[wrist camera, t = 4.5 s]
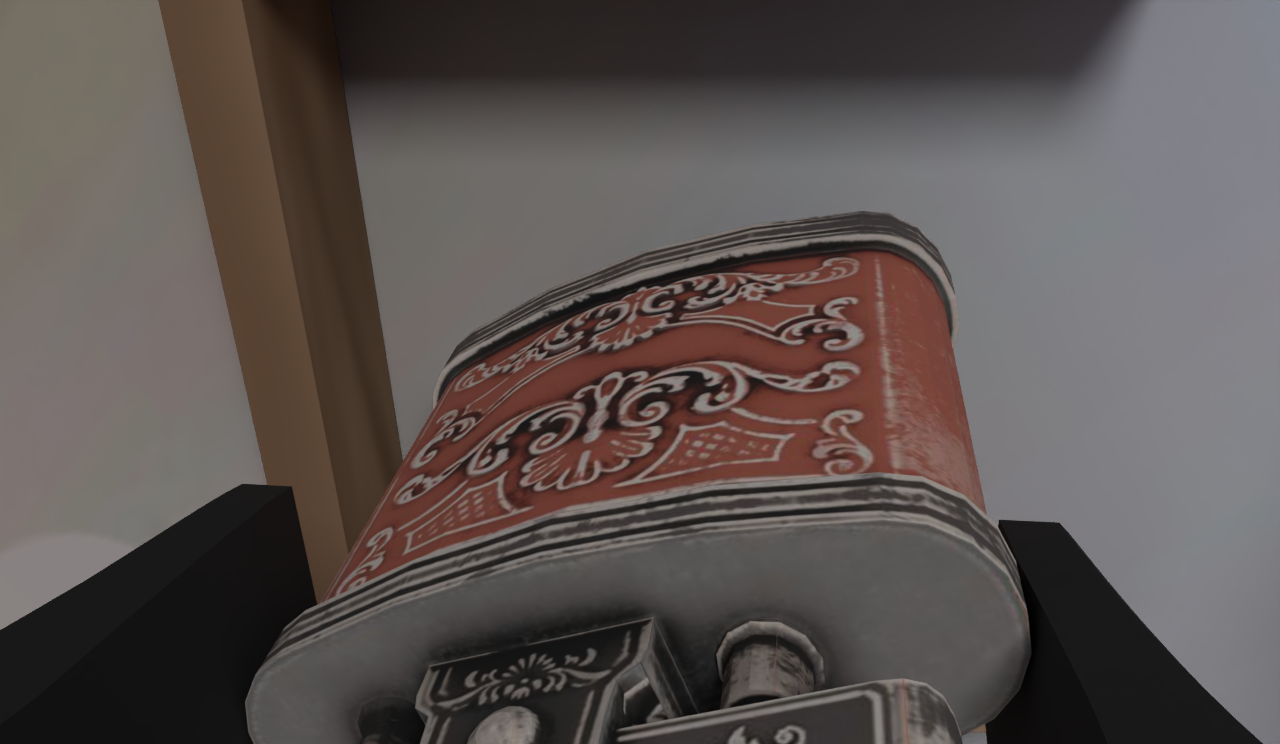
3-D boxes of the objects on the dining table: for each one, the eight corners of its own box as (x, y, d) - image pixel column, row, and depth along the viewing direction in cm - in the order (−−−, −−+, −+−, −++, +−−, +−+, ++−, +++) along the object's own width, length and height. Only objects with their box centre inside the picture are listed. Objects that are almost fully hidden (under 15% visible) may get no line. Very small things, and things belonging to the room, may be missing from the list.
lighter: (499, 496, 20) (238, 1097, 11) (411, 324, 18) (34, 853, 10) (979, 372, 17) (1131, 1010, 9) (918, 164, 16) (1024, 673, 7)
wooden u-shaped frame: (1201, -180, 16) (1277, -164, 13) (1064, 623, 22) (1096, 740, 20) (230, -148, 18) (129, -129, 15) (367, 584, 24) (312, 685, 22)
